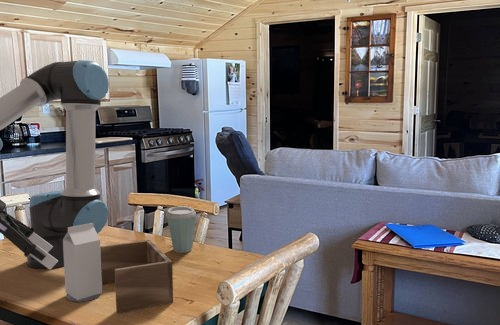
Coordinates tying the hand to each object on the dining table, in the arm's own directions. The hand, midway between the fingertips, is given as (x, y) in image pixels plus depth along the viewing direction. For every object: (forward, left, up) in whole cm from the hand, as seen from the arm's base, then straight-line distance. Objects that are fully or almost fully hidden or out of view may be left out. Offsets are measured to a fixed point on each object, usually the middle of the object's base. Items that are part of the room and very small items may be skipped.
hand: (51, 257), depth 124 cm
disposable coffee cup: (-26, +44, -12) cm, 53 cm away
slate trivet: (0, +8, -12) cm, 14 cm away
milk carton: (0, +8, -11) cm, 14 cm away
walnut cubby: (+4, +21, -12) cm, 24 cm away
